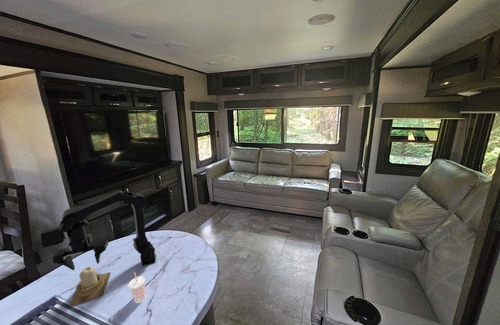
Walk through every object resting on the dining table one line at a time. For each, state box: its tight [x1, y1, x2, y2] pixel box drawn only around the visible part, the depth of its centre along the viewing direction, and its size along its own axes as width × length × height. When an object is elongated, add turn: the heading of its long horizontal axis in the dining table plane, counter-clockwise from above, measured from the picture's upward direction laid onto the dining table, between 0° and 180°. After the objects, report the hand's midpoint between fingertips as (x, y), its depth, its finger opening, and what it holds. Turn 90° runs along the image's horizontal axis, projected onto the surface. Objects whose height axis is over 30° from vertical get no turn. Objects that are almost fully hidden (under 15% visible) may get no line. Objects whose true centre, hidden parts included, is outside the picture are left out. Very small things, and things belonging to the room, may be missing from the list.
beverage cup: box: [128, 271, 147, 304], centre depth 87 cm, size 6×6×14 cm
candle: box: [79, 266, 98, 289], centre depth 93 cm, size 6×6×10 cm
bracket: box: [68, 271, 111, 307], centre depth 94 cm, size 12×14×4 cm
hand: (86, 266), depth 91 cm, fingers open, 9 cm apart
